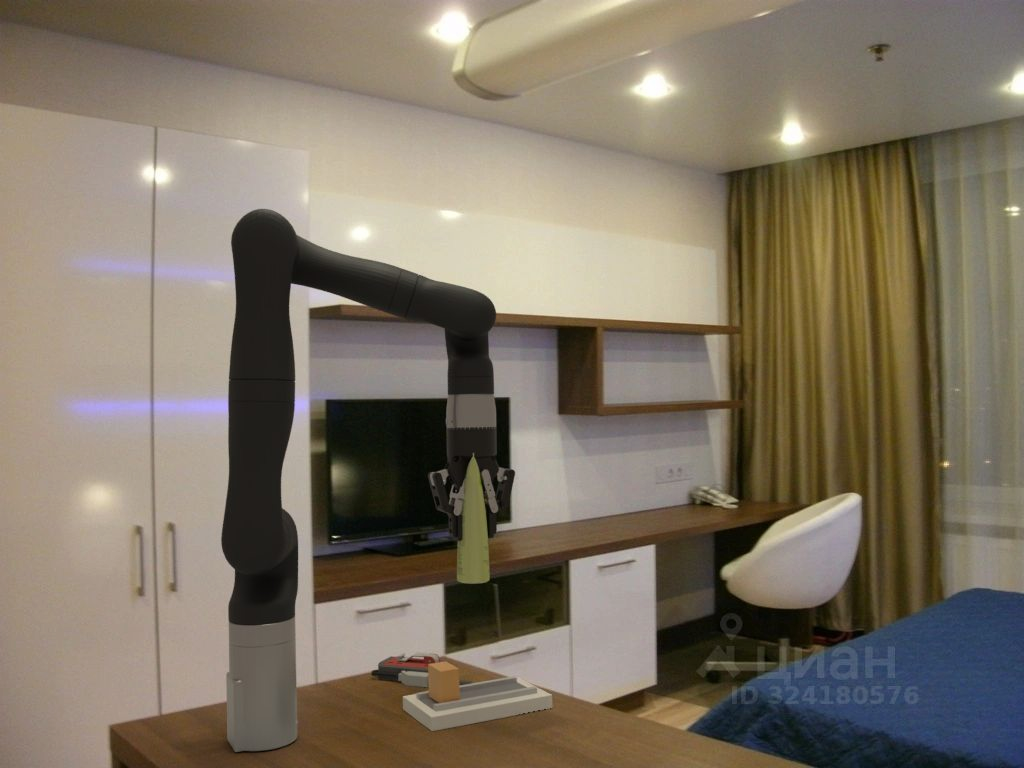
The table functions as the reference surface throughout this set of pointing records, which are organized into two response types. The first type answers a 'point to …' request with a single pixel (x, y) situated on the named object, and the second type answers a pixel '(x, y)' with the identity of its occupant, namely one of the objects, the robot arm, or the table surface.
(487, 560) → the tube
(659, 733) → the table surface
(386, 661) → the walkie-talkie
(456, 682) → the switch tab
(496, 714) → the switch board
